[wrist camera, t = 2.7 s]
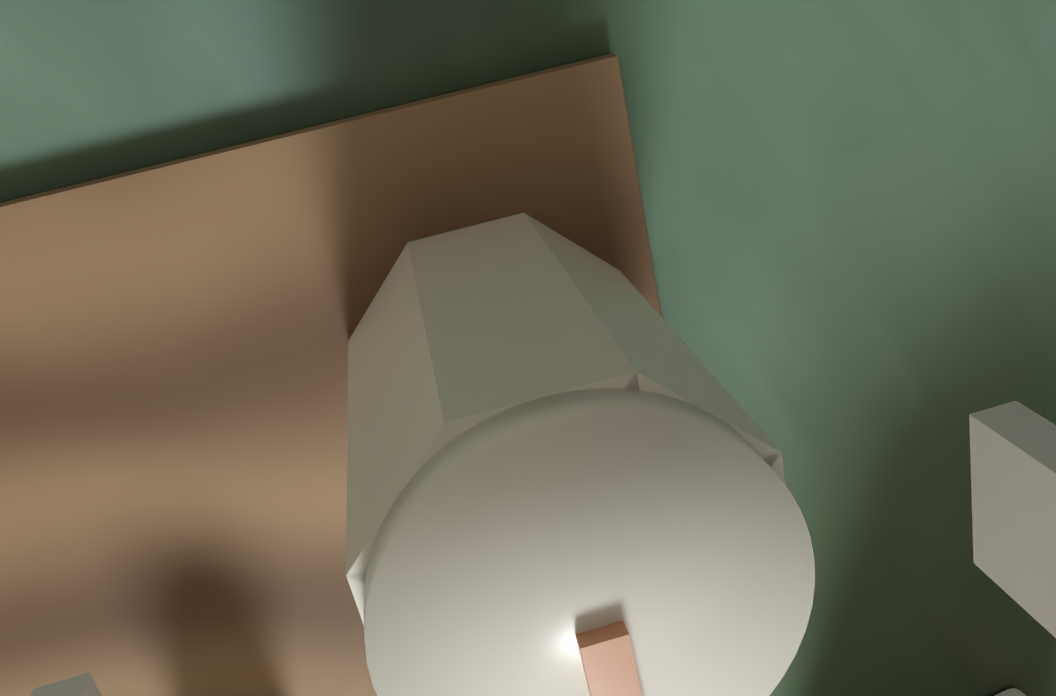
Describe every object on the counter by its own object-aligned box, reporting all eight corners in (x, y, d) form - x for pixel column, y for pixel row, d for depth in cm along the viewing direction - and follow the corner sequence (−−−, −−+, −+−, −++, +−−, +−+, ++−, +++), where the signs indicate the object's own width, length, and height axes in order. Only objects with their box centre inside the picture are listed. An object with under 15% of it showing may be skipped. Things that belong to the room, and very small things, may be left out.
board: (-237, 260, 19) (-453, 367, 14) (610, 53, 20) (696, 82, 15) (157, 950, 28) (114, 1171, 23) (732, 773, 29) (812, 943, 24)
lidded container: (323, 263, 20) (300, 505, 11) (604, 191, 21) (803, 366, 12) (400, 506, 23) (433, 864, 14) (649, 437, 24) (841, 738, 14)
